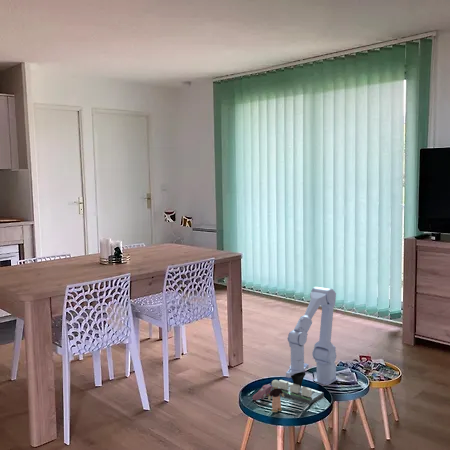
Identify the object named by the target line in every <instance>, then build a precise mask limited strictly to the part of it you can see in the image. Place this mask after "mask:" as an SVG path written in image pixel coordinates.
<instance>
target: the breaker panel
mask: <svg viewBox="0 0 450 450" xmlns="http://www.w3.org/2000/svg"><path fill="white" fill-rule="evenodd" d="M287 382H288V389H287V390H285V389H281V388H280V389H281V390H282V391H283V394H284V397H285V398H289V399H292V400H294V401H295V400H296V401H298V402H302V403H304V404H307V405H312V404H314V403H315V402H316V401H318V400H320V399H321V398H323V397H324V396H325V395H324V392H323V391H319V390H316V389H313V388H311V389H312V396H311V397H307V396H304V395H302V387H304V386H302V385H301V388H300V393H298V394H297V393H294V392H291V391H290V384H291V383H292V382H290V381H287ZM278 388H279V387H278ZM280 396H282V395H281V394H280Z"/></svg>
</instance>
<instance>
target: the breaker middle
mask: <svg viewBox="0 0 450 450" xmlns="http://www.w3.org/2000/svg"><path fill="white" fill-rule="evenodd" d="M290 383H291V384H290V391H291V392H294V393H297V394H298V393H300V385H297V384H294V383H293V382H290Z"/></svg>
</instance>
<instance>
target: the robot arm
mask: <svg viewBox="0 0 450 450" xmlns="http://www.w3.org/2000/svg"><path fill="white" fill-rule="evenodd" d="M309 296H310V300H309V303H308V306H307V308H306V311H305V312H304V315H302V316H300V317H299V318H298V321H297V323H296V325H295V327H294V328H293V330H291V331H289V333H288V335H287V341H288V344H289V348H290V365H289V366H288V370H287V371H286V372H285V378H288V379H289V378H291V380H292V383H294V384H297V385H300V388H301V386H302V383H303V381H304V378H305V375H306V372H305V371H306V370H308V369H309V367H310V366H309V363H305V344H306V343H307V340H308V333H309V330H310V329H311V326H312V325H313V321H312V318H313V317H314V316H315V314H316V313H317V311H318V309H319V308H320V307H321V314H320V315H321V317H320V329H319V337H318V338H319V339H318V341H317V342H315V343H314V345H313V346H314V347H313V349H312V358H313V359H314V362H315V363H316V365H315V366H316V378H314V379H313V380H314V381H315V382H314V381H313V382H314V383H317V384H321V385H324V386H329V385H330V384H332V383H334V382H336V381H337V380H338V381H339V379H338V378H337V365H336V363H335V362H336V359H337V352H336V351H337V350H336V346H335V345H334V344H333V343H332V330H333V320H334V318H333V317H334V307H335V306H336V298H337V293H336V291H335V289H333V288H327V287H320V286H313V287H312V289H311V292H310V294H309Z"/></svg>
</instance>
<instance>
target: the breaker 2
mask: <svg viewBox="0 0 450 450" xmlns="http://www.w3.org/2000/svg"><path fill="white" fill-rule="evenodd" d="M312 389H313V388H310V387H306V386H303V387H302V395H304V396H307V397H311V396H312Z"/></svg>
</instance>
